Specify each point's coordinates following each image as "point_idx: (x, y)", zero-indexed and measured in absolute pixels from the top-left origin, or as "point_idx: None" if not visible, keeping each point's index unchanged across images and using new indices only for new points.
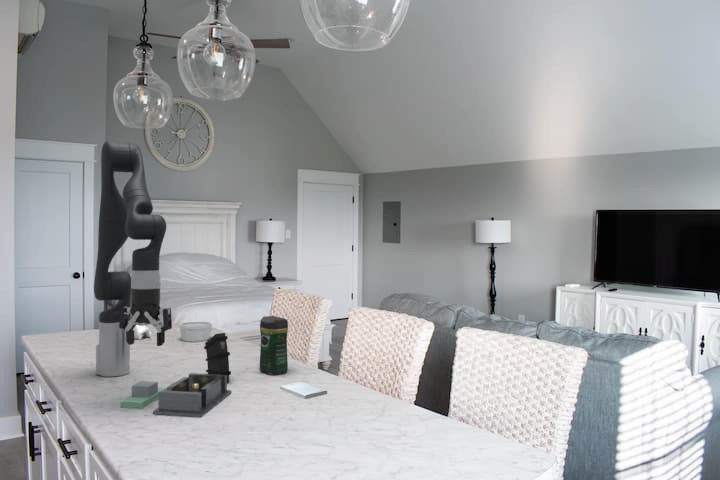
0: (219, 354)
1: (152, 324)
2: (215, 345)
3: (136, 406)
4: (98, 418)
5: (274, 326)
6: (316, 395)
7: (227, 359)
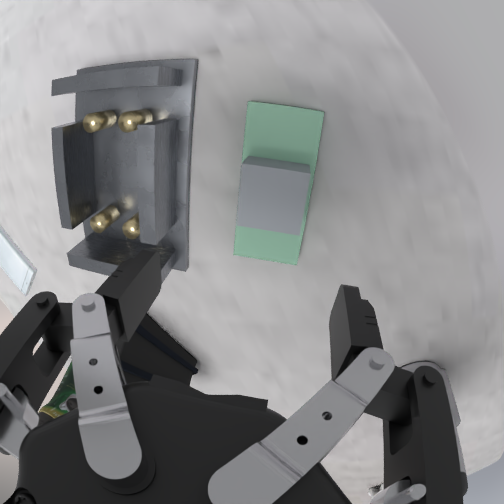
0: None
1: (103, 341)
2: None
3: (268, 103)
4: (343, 19)
5: (41, 417)
6: None
7: None
